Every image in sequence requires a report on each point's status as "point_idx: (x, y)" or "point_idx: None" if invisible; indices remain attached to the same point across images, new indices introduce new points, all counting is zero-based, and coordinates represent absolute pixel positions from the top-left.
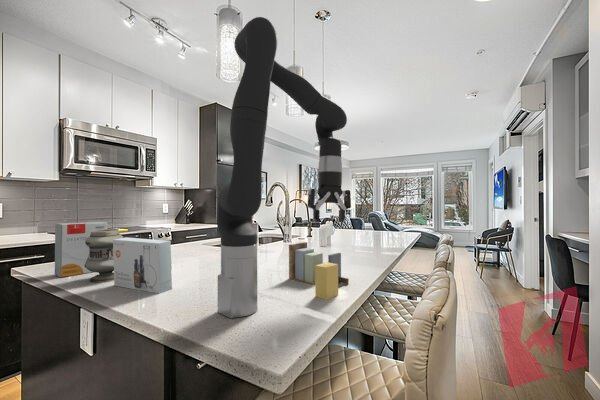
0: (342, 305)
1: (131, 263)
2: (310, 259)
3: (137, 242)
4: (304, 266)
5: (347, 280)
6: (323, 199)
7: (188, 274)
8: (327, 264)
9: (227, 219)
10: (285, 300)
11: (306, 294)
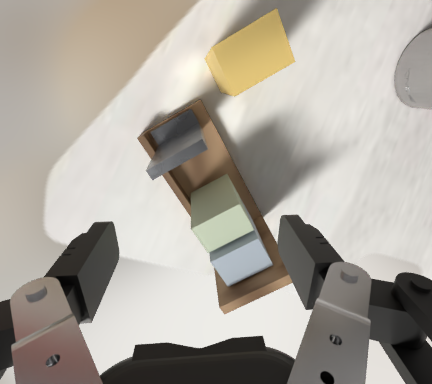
0: (215, 6)
1: None
2: (240, 204)
3: None
4: None
5: (142, 134)
6: (343, 355)
7: None
8: (249, 60)
9: None
10: (322, 96)
11: (262, 120)
